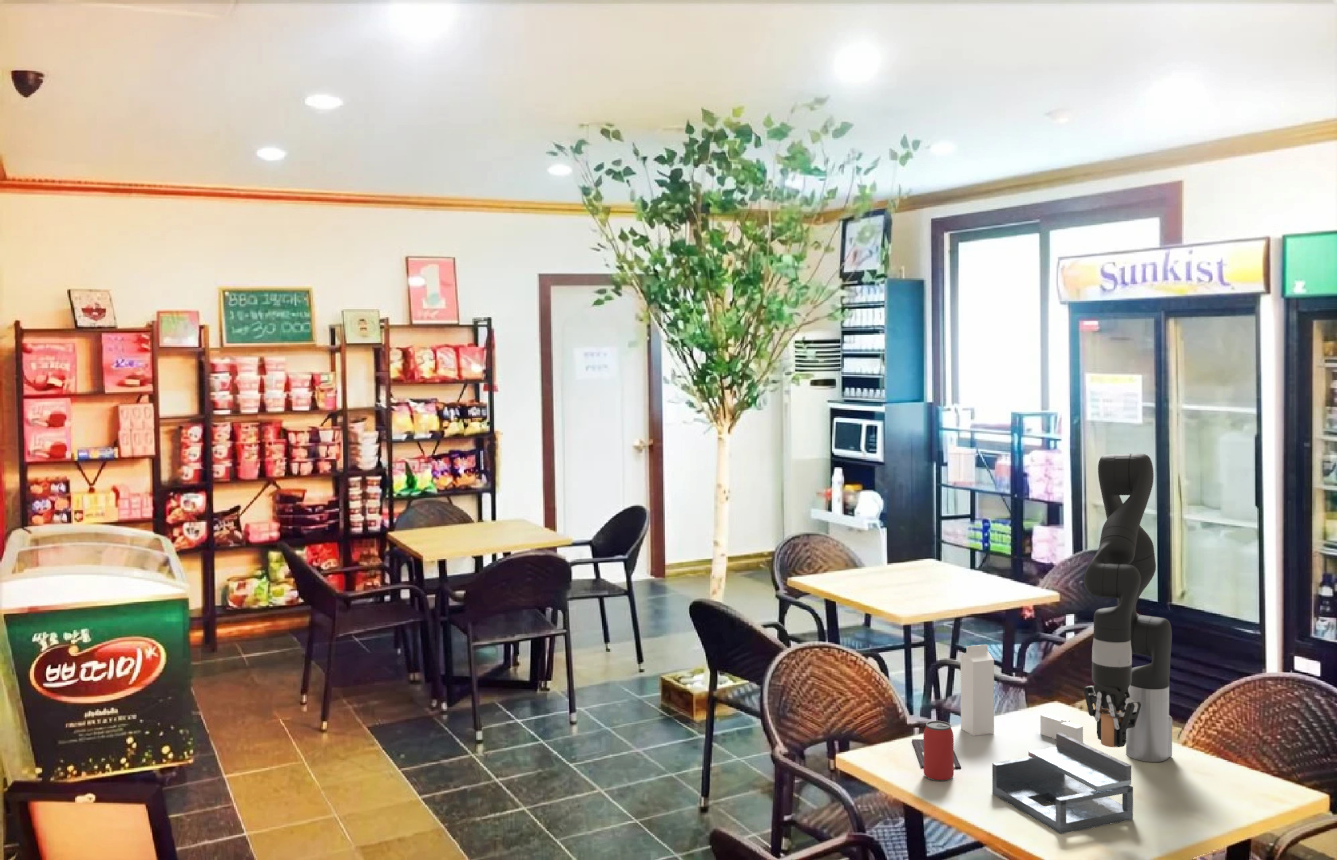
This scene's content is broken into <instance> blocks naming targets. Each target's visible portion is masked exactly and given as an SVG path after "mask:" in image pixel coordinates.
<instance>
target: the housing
mask: <svg viewBox="0 0 1337 860" xmlns="http://www.w3.org/2000/svg"><path fill="white" fill-rule="evenodd" d="M991 767H992V768H991V769H992V770H991V771H992V774H991V775H992V776H991V777H992V779H991V780H992V785H991V786H992V788H991V791H992V792H991V793H992V795H994V796H995V797H997V798H999V799H1000V800H1002V801H1004V802H1006V803H1007V804H1009V805H1011V806H1012V807H1013V808H1016V809H1018V810H1019V811H1021V812H1023V813H1024V814H1026V815H1027V816H1029V817H1031V818H1032V819H1034V820H1036V821H1037V822H1039V823H1041V824H1043V825H1044V826H1046V827H1048V828H1050V829H1051V830H1053V831H1055V832H1056V833H1057V834H1059V835H1063V834H1068V833H1071V832H1072V833H1073V832H1077V831H1083V830H1087V829H1092V828H1097V827H1102V826H1107V825H1111V824H1112V825H1113V824H1116V823H1117V824H1118V823H1122V822H1127V821H1132V820H1134V814H1133V813H1134V786H1131V785H1127V786H1122V787H1116V788H1111V789H1106V790H1100V791H1096V790H1094V789H1092V788H1090V787H1088V786H1086V785H1084V784H1082V783H1080V782H1078V781H1076V780H1074V779H1073V778H1071V777H1069V776H1067V775H1065V774H1063V773H1061V772H1059V771H1057V770H1055V769H1053V768H1051V767H1049V766H1047V765H1045V764H1043V763H1041V762H1039V761H1037V760H1036V759H1034V758H1032V757H1030V756H1028V757H1027V756H1026V757H1021V758H1015V759H1009V760H1002V761H998V762H993V763H992V766H991ZM1119 795H1122V799H1121V800H1122V803H1121V802H1118V801H1117V800H1114V799H1112V798H1111V797H1113V796H1119ZM1045 803H1049V804H1052V805H1047V806H1046V805H1045V806H1044V805H1042V804H1045Z"/></svg>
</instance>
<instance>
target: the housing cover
mask: <svg viewBox="0 0 1337 860" xmlns="http://www.w3.org/2000/svg"><path fill="white" fill-rule="evenodd" d="M1055 740H1056V742H1055V745H1056V746H1053V747H1047V748H1041V749H1033V750H1029V751H1028V757H1032V758H1034V759H1036V760H1037V761H1039V762H1041V763H1043V764H1045V765H1047V766H1049V767H1051V768H1053V769H1055V770H1057V771H1059V772H1061V773H1063V774H1065V775H1066V776H1068V777H1070V778H1072V779H1074V780H1076V781H1078V782H1080V783H1081V784H1083V785H1085V786H1087V787H1089V788H1091V789H1093V790H1095V791H1100V790H1106V789H1111V788H1116V787H1122V786H1127V785H1130V786H1131V785H1132V765H1131V764H1130V763H1127V762H1124V761H1122V760H1120V759H1118V758H1117V757H1114V756H1112V755H1110V754H1107V753H1105V752H1103V751H1101V750H1099V749H1096V748H1095V747H1092V746H1090V745H1088V744H1085V743H1084V742H1083V743H1082V742H1080V741H1077V740H1075V739H1073V738H1071V737H1069V736H1067V735H1064V734H1062V733H1056V739H1055Z"/></svg>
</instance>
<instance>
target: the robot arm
mask: <svg viewBox="0 0 1337 860" xmlns="http://www.w3.org/2000/svg"><path fill="white" fill-rule="evenodd" d="M1097 474H1098V482H1099V483H1098V484H1099V487H1100V493H1101V498H1102V501H1103V506H1104V510H1105V511H1104V512H1105V517H1106V520H1105V522H1104V523H1103V526H1102V528H1101V534H1100V538H1099V539H1100V541H1099V546H1098V549H1097V550H1096V553H1095V555H1094V556H1093V558H1092V560H1091V561H1090V563H1088V566H1087V568H1086V570H1085V572H1084V577H1083V582H1084V583H1083V584H1084V588H1085V589H1086V591H1087V593H1088V594H1089V595H1091V596H1093V597H1096V598H1109V599H1116V601H1117V605H1116V606H1111V607H1103V608H1099V609H1096V610H1095V612H1094V613H1093V639H1092V647H1091V651H1092V652H1091V662H1092V663H1091V680H1092V682H1093V683H1094V685H1087V686H1084V687H1083V693H1084V698H1085V703H1086V706H1087V707H1086V708H1087V712H1088V715H1089V716H1090V717H1093V718H1094V720H1095V722H1096V736H1097V739H1098V740H1099V741H1101V713H1104V712H1110V715H1111V717H1112V718H1113V720H1114V726H1115V728H1116V729H1114V746H1116V747H1115V748H1122V747H1124V746H1125V754H1126V755H1127V756H1128V757H1130V758H1131V759H1135V760H1138V761H1142V762H1151V763H1160V762H1161V763H1162V762H1165V761H1167V760H1168V759H1169V758H1171V757H1172V756H1173V717H1172V716H1171V715H1170V674H1171V653H1172V644H1173V643H1172V640H1173V639H1172V638H1173V633H1172V632H1173V631H1172V624H1171V622H1170V621H1169V620H1168V619H1167V618H1165V617H1159V616H1151V615H1144V614H1143V615H1142V614H1138V612H1137V609H1136V608H1137V602H1138V600H1139V598H1140V597H1141V595H1142V593H1143V592H1144V590H1145V589H1146V588H1147V587H1148V585H1149V584H1150V582H1151V581H1152V580H1153V578H1154V576H1155V573H1156V570H1157V569H1156V568H1157V565H1156V557H1155V555H1156V554H1155V548H1154V546H1155V545H1154V542H1153V540H1152V538H1151V536H1150V535H1149V534H1148V533H1147V532H1146V531H1145V530H1144V529H1143V527H1142V526H1141V521H1142V519H1143V516H1144V513H1145V511H1146V508H1147V505H1148V502H1149V499H1150V497H1151V493H1152V489H1153V485H1154V477H1155V476H1154V466H1153V461H1152V459H1151V457H1150V456H1149V455H1148V454H1146V453H1109V454H1108V453H1107V454H1104V455H1102V456H1101V457H1099V460H1098V464H1097ZM1121 496H1129V497H1128V498H1127V499H1126V500H1125V501H1124V502H1123V500H1122V498H1121ZM1133 654H1134V655H1140V656H1141V655H1142V656H1146V657H1151V659H1152V660H1151V663H1148V664H1145V665H1139V666H1135V667H1132V665H1133V660H1132V659H1133V657H1132V656H1133ZM1093 704H1094V705H1093ZM1120 717H1121V722H1122V723H1120V720H1119V718H1120Z"/></svg>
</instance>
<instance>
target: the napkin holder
mask: <svg viewBox="0 0 1337 860" xmlns="http://www.w3.org/2000/svg"><path fill="white" fill-rule="evenodd" d="M1056 733H1062V734H1064V735H1067V736H1069V737H1071V738H1073V739H1075V740H1077V741H1080V742H1082V743H1084V726H1083V725H1081V724H1076V723H1073V722H1071V720H1070V719H1067V718H1063V717H1061V716H1060V717H1059V716H1057V715H1053V714H1049V713H1046V712H1045V713H1043V714H1040V735H1043V736H1045V737H1047V738H1051V737H1052V738H1051V739H1054V740H1056Z"/></svg>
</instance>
